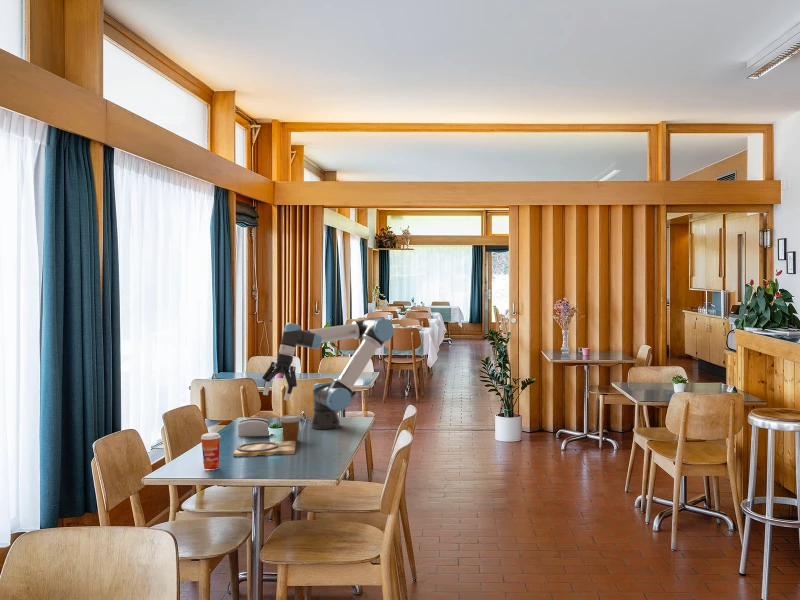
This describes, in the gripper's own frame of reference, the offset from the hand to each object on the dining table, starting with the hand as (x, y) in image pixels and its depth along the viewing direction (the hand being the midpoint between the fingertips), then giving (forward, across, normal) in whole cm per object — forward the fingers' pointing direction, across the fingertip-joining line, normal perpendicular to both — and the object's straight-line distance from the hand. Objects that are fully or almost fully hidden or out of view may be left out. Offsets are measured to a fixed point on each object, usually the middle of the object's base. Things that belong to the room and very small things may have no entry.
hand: (275, 397), depth 335 cm
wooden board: (+23, +16, -16) cm, 32 cm away
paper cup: (+31, +20, -50) cm, 62 cm away
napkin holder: (+21, -13, +7) cm, 26 cm away
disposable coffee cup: (+18, +14, +2) cm, 23 cm away
